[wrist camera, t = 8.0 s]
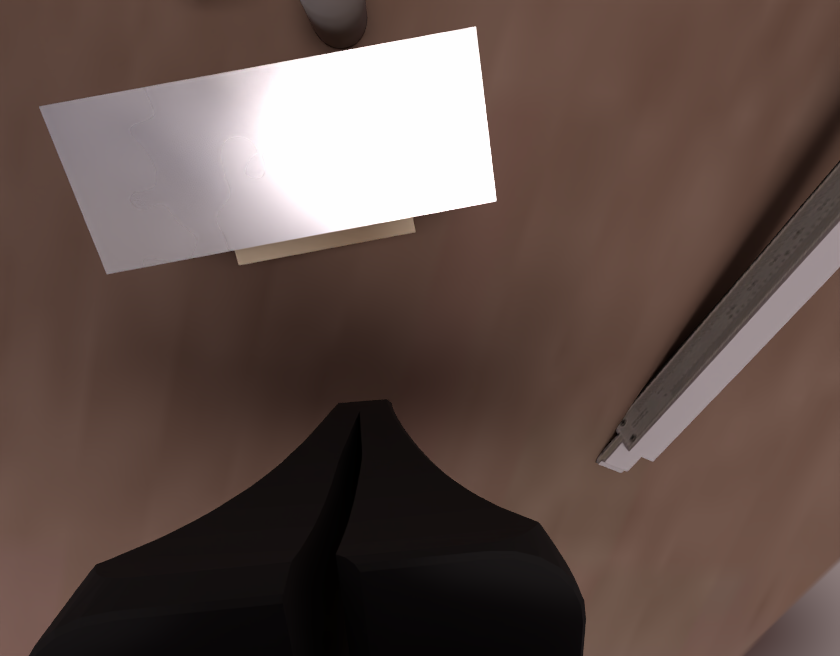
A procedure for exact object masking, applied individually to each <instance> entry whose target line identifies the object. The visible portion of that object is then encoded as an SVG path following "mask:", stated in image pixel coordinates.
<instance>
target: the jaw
mask: <svg viewBox="0 0 840 656" xmlns="http://www.w3.org/2000/svg"><path fill="white" fill-rule="evenodd" d="M300 1H301V3H302V5H303V8H304V10H305V12H306V14H307V16H308V18H309V20H310V22H311V24H312V26H313V28H314V30H315V32H316V34H317V35H318V36H319V38H320V39H321V40H322V41H323V42H325V43H326V44H328V45H330V46H332V47H336V48H346V47H349V46H352V45H353V44H355V43H356V42H358V40H359V39H360V38H361V37H362V35H363V33H364V31H365V29H366V25H367V11H366V2H365V0H300Z"/></svg>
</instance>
